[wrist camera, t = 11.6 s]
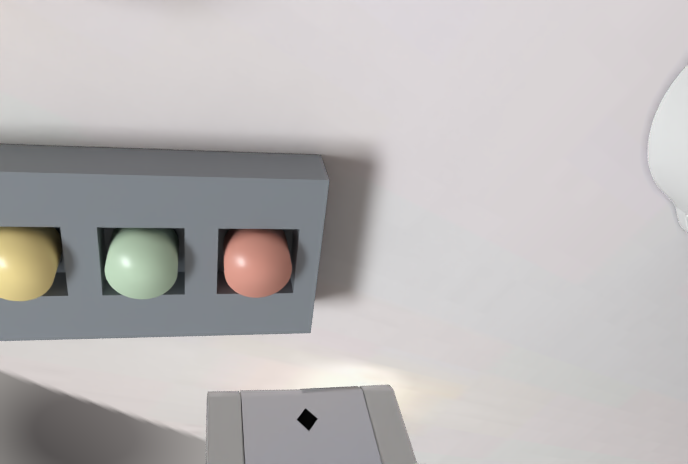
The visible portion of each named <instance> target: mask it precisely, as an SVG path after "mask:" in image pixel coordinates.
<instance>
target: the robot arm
mask: <svg viewBox="0 0 688 464" xmlns="http://www.w3.org/2000/svg"><path fill="white" fill-rule="evenodd" d="M648 164H649V169H650V172H651V175H652V177H653V180H654V182H655V183H656V185H657V186H658V188H659V189H660V190H661V191H662V192H663V193H664V194H665V195H666V196H667V197H668V198H669V199H670V200H671V201H672V202H673V204H674V205H675V208H676V213H677V218H678V221H679V224H680V227H681V228H682V229H683V230H684V231H686V232H687V233H688V65H687V66H686V67H685V68H684V69H683V70H682V72H681V73H680V74H679V75H678V76H677V78H676V79H675V80H674V82H673V83H672V85H671V86H670V88H669V89H668V91H667V92H666V94H665V96H664V97H663V99H662V101H661V103H660V105H659V107H658V109H657V112H656V114H655V117H654V119H653V122H652V126H651V129H650V134H649V139H648ZM206 464H417V461H416V458H415V455H414V452H413V449H412V446H411V443H410V440H409V436H408V433H407V430H406V427H405V424H404V421H403V418H402V415H401V412H400V409H399V406H398V403H397V400H396V396H395V393H394V390H393V388H392V387H391V386H390V385H372V386H360V387H358V386H351V387H331V388H311V389H300V390H240V393H239V391H212V392H208V394H207V414H206Z"/></svg>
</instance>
